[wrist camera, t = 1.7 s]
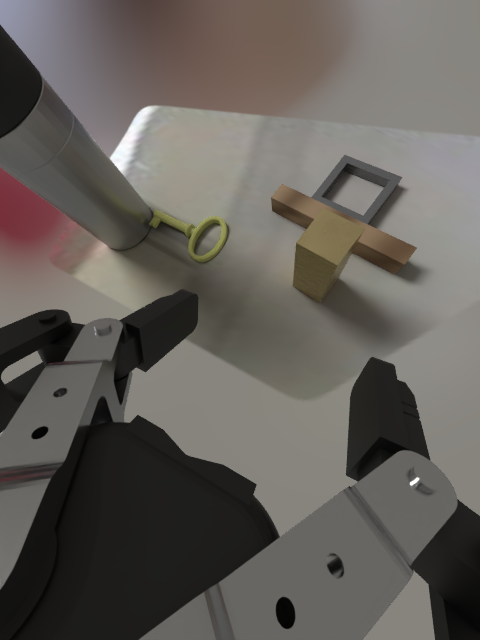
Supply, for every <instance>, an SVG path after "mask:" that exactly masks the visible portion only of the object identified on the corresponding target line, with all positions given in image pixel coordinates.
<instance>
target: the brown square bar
mask: <svg viewBox="0 0 480 640" xmlns="http://www.w3.org/2000/svg"><path fill="white" fill-rule="evenodd" d="M271 201H272V211H274V212H276V213H278V214H280V215H282V216H283V217H285V218H287V219H289V220H291V221H293V222H295V223H297V224H299V225H301V226H303V227H305V228H306V229H307V228H308V227H309V226H310V224H311V223H312V222H313V220H314V219H315V218H316V216H317V215H318V214H319V213H320V211H321V210H322V209H323V208H324V209H326V210H328V211H330V212H332V213H334V214H336V215H339V216H341V217H343V218H345V219H347V220H349V221H351V222H353V223H355V224H357V225H359V226H362V227H364V228H365V230H364V232H363V233H362V235H361V237H360V239H359V241H358V243H357V245H356V246H355V248H354V250H353V252H352V253H354V254H356V255H358V256H360V257H362V258H364V259H366V260H368V261H370V262H372V263H373V264H375V265H377V266H379V267H381V268H383V269H385V270H387V271H389V272H391V273H393V274H395V273H397V272H398V271H399V270H400V269H401V268H402V267H403V266H404V265H405V264H406V262H407V261H408V260H409V258H410V257H411V255H412V254H413V253H414V251H415V250H416V249H417V248H416V247H414V246H412V245H410V244H408V243H406V242H404V241H401V240H399V239H397V238H395V237H393V236H391V235H389V234H387V233H385V232H382V231H380V230H378V229H376V228H374V227H372V226H370V225H368V224H366V223H363V222H361V221H359V220H357V219H355V218H353V217H351V216H349V215H346V214H344V213H342V212H340V211H338V210H336V209H334V208H332V207H330V206H327V205H325V204H323V203H321V202H319V201H317V200H315V199H313V198H311V197H308V196H306V195H304V194H302V193H300V192H298V191H296V190H294V189H291V188H289V187H287V186H285V185H283V184H282V185H281V186H280V187H279V188H278V190H277V191H276V192H275V193H274V195H273V196H272V197H271Z"/></svg>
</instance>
